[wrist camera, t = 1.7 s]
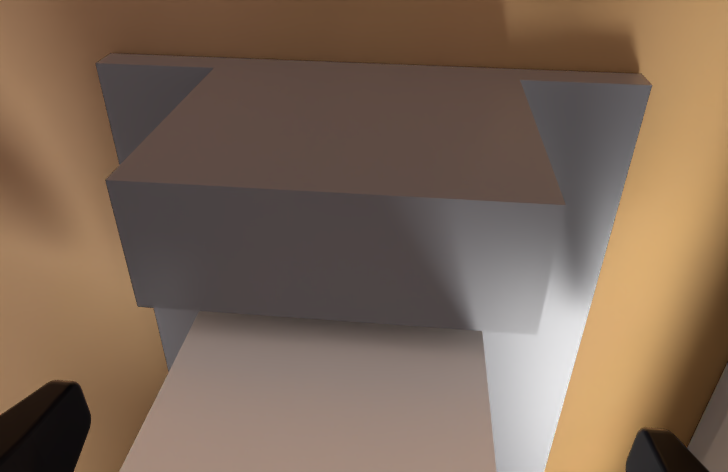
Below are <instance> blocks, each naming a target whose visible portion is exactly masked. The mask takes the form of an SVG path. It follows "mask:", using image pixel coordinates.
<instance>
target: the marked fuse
mask: <svg viewBox="0 0 728 472" xmlns="http://www.w3.org/2000/svg"><path fill="white" fill-rule="evenodd" d="M119 472H496V462H495V452H494V442H493V433H492V423H491V413H490V403H489V393H488V383H487V373H486V363H485V353H484V344H483V334H482V331H474V330H460V329H446V328H432V327H418V326H404V325H389V324H375V323H361V322H347V321H333V320H319V319H305V318H291V317H277V316H263V315H249V314H234V313H220V312H206V311H199V312H198V314H197V316H196V318H195V320H194V322H193V324H192V326H191V329H190V331H189V333H188V335H187V337H186V339H185V341H184V343H183V345H182V347H181V349H180V351H179V353H178V355H177V357H176V359H175V361H174V363H173V365H172V367H171V369H170V371H169V373H168V375H167V377H166V379H165V381H164V383H163V385H162V387H161V389H160V391H159V393H158V395H157V397H156V399H155V401H154V403H153V405H152V407H151V409H150V411H149V413H148V415H147V417H146V419H145V421H144V423H143V425H142V427H141V429H140V431H139V433H138V435H137V437H136V439H135V441H134V443H133V445H132V447H131V449H130V451H129V453H128V455H127V457H126V459H125V461H124V463H123V465H122V467H121V469H120V471H119Z"/></svg>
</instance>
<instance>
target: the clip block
mask: <svg viewBox="0 0 728 472" xmlns="http://www.w3.org/2000/svg"><path fill="white" fill-rule="evenodd" d="M96 67H97V72H98V76H99V80H100V84H101V89H102V93H103V97H104V101H105V105H106V110H107V114H108V118H109V122H110V126H111V131H112V135H113V139H114V143H115V147H116V152H117V156H118V160H119V164H120V165H119V166H118V167H117V168H116V169H115V170H114V171H113V172H112V174H111V175H110V176H109V177H108V178H107V179H106V180H105V181H106V185H107V189H108V193H109V197H110V200H111V204H112V208H113V212H114V216H115V220H116V224H117V228H118V232H119V236H120V240H121V243H122V247H123V251H124V255H125V259H126V263H127V267H128V271H129V275H130V279H131V283H132V286H133V290H134V294H135V298H136V302H137V306H138V307H150V308H154V312H155V316H156V320H157V324H158V329H159V333H160V337H161V341H162V345H163V350H164V354H165V358H166V362H167V367H168V371H170V369H171V367H172V365H173V363H174V361H175V359H176V357H177V355H178V353H179V351H180V349H181V347H182V345H183V343H184V341H185V339H186V337H187V335H188V333H189V331H190V329H191V326H192V324H193V322H194V320H195V318H196V316H197V314H198V312H199V311H206V312H220V313H234V314H249V315H263V316H277V317H291V318H305V319H319V320H333V321H347V322H361V323H375V324H389V325H404V326H418V327H432V328H446V329H460V330H474V331H482V334H483V344H484V353H485V363H486V373H487V383H488V393H489V403H490V413H491V423H492V433H493V442H494V452H495V462H496V472H544V471H545V467H546V463H547V460H548V456H549V453H550V449H551V446H552V442H553V438H554V435H555V431H556V428H557V424H558V420H559V417H560V413H561V410H562V406H563V403H564V399H565V395H566V392H567V388H568V385H569V381H570V377H571V374H572V370H573V367H574V363H575V360H576V356H577V352H578V349H579V345H580V342H581V338H582V335H583V331H584V327H585V324H586V320H587V317H588V313H589V309H590V306H591V302H592V299H593V295H594V292H595V288H596V284H597V281H598V277H599V274H600V270H601V266H602V263H603V259H604V256H605V252H606V249H607V245H608V241H609V238H610V234H611V231H612V227H613V224H614V220H615V216H616V213H617V209H618V206H619V202H620V198H621V195H622V191H623V188H624V184H625V181H626V177H627V173H628V170H629V166H630V163H631V159H632V155H633V152H634V148H635V145H636V141H637V138H638V134H639V130H640V127H641V123H642V120H643V116H644V112H645V109H646V105H647V102H648V98H649V95H650V91H651V87H652V85H651V84H650V82H649V81H648V80H647V79H646V78H645V77H644V76H643V75H642V74H636V73H610V72H584V71H558V70H532V69H506V68H480V67H454V66H428V65H402V64H376V63H350V62H324V61H298V60H272V59H246V58H220V57H194V56H168V55H142V54H116V53H110V54H109V55H107V56H106V57H104V58H103V59H101V60H100V61H98V62H96Z"/></svg>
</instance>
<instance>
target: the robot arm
mask: <svg viewBox="0 0 728 472" xmlns="http://www.w3.org/2000/svg"><path fill="white" fill-rule="evenodd" d="M90 424H91V414H90V411H89V408H88V405H87V403H86V400H85V397H84V394H83V391H82V389H81V386H80V385H79V384H78V383H77V382H74V381H63V380H53V381H51V382H48V383H47V384H45V385H44V386H42V387H41V388H39V389H38V390H36V391H35V392H34V393H32V394H31V395H29V396H28V397H26V398H25V399H23V400H22V401H20V402H19V403H17V404H16V405H15V406H13V407H12V408H10V409H9V410H7V411H6V412H4V413H3V414H1V415H0V472H74V469H75V467H76V464H77V461H78V459H79V456H80V453H81V451H82V448H83V445H84V442H85V440H86V437H87V434H88V432H89V428H90ZM626 472H710V471H709V470H708V469H707V468H706V467H705V466H704V465H703V464H702V463H701V462H700V461H699V460H698V459H697V458H696V457H695V456H694V455H693V454H692V453H691V452H690V451H689V450H688V448H687V447H686V446H685V445H684V444H683V443H682V442H681V441H680V440H679V439H678V438H677V437H676V436H675V435H674V434H673V433H672V432H670V431H669V430H666V429H658V428H641V429H640V430H639V431H638V433H637V435H636V438H635V440H634V443H633V445H632V448H631V450H630V453H629V455H628V458H627V461H626Z"/></svg>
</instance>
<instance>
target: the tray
mask: <svg viewBox="0 0 728 472" xmlns="http://www.w3.org/2000/svg"><path fill="white" fill-rule="evenodd" d="M687 448H688V450H689V451H690V452H691V453H692V454H693V455H694V456H695V457H696V458H697V459H698V460H699V461H700V462H701V463H702V464H703V465H704V466H705V467H706V468H707V469H708V470H709V471H710V472H728V363H727V365H726V367H725V369H724V371H723V373H722V375H721V377H720V379H719V382H718V384H717V386H716V388H715V390H714V392H713V394H712V396H711V399H710V401H709V403H708V405H707V407H706V409H705V411H704V413H703V415H702V418H701V420H700V422H699V424H698V426H697V428H696V430H695V432H694V434H693V437H692V439H691V441H690V443H689V445H688V447H687Z"/></svg>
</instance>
